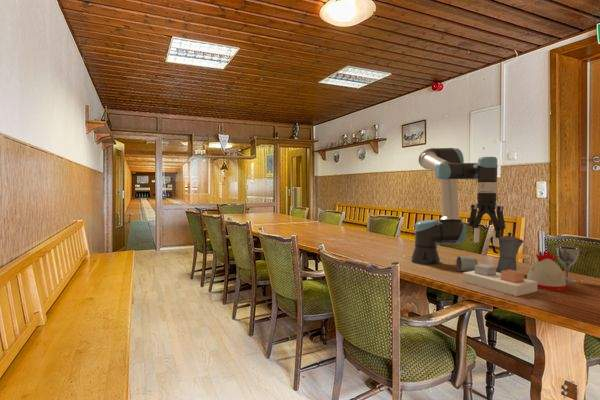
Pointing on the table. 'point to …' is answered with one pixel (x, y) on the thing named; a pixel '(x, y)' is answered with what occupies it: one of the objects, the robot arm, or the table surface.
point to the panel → (500, 283)
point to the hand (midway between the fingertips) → (485, 243)
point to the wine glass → (567, 258)
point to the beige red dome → (547, 273)
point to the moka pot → (507, 252)
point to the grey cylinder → (466, 263)
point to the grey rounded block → (485, 269)
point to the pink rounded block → (512, 276)
